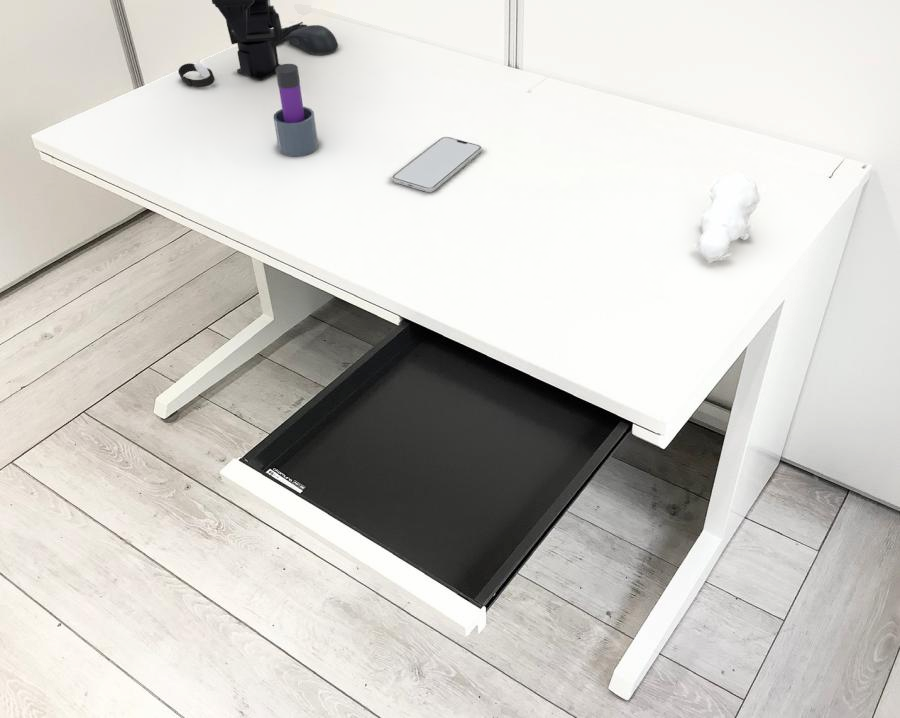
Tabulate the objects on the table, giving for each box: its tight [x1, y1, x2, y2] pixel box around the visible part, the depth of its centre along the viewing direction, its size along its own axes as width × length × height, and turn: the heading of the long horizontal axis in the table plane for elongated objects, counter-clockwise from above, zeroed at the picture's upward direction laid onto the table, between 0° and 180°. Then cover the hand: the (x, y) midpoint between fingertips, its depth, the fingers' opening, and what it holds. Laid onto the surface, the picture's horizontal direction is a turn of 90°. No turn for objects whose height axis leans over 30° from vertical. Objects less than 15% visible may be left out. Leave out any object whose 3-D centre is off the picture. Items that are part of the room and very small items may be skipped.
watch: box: [177, 60, 216, 88], centre depth 160 cm, size 8×5×4 cm, turn 54°
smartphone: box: [391, 136, 482, 193], centre depth 135 cm, size 7×1×15 cm
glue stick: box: [275, 63, 305, 123], centre depth 137 cm, size 3×3×12 cm
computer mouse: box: [275, 21, 339, 56], centre depth 172 cm, size 10×15×4 cm
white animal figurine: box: [693, 172, 761, 264], centre depth 115 cm, size 6×8×12 cm
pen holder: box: [273, 106, 319, 158], centre depth 140 cm, size 6×6×6 cm
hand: (245, 29), depth 145 cm, fingers open, 9 cm apart
